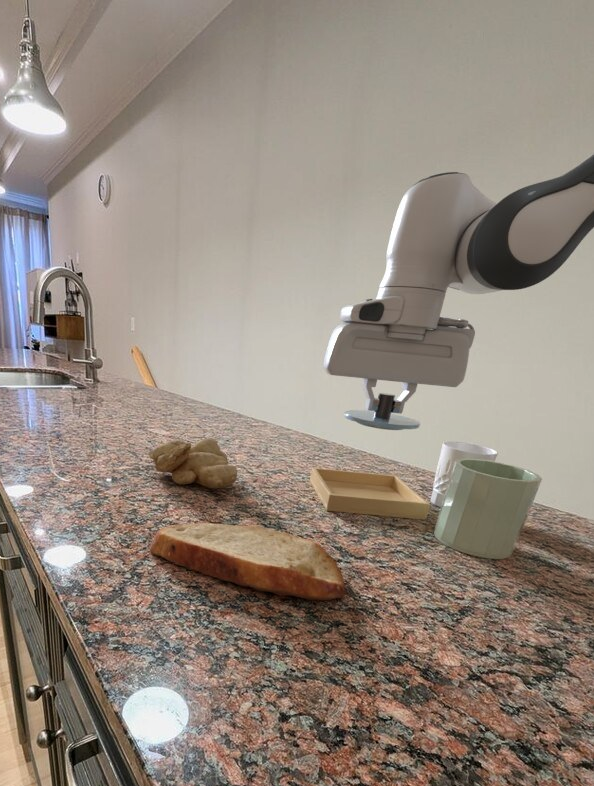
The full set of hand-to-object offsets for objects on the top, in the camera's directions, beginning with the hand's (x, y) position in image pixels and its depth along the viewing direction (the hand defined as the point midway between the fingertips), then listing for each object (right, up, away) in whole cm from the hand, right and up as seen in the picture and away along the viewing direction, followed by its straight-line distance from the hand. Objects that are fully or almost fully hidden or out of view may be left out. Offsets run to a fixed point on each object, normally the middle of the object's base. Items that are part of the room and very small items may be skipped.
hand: (382, 411), depth 69 cm
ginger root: (-30, -10, +7) cm, 33 cm away
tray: (-1, -13, +5) cm, 15 cm away
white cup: (+14, -15, +7) cm, 21 cm away
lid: (0, -1, +1) cm, 2 cm away
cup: (+9, -20, -7) cm, 23 cm away
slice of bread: (-23, -22, -20) cm, 37 cm away
